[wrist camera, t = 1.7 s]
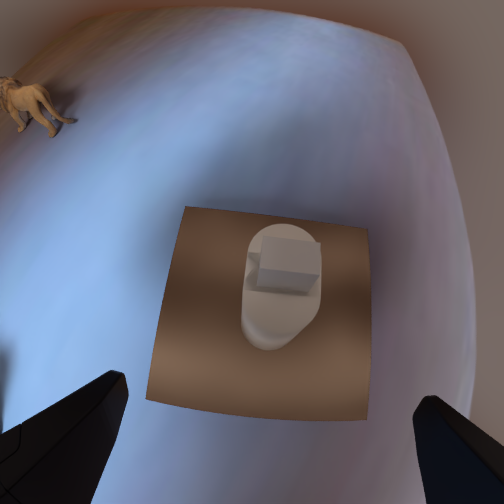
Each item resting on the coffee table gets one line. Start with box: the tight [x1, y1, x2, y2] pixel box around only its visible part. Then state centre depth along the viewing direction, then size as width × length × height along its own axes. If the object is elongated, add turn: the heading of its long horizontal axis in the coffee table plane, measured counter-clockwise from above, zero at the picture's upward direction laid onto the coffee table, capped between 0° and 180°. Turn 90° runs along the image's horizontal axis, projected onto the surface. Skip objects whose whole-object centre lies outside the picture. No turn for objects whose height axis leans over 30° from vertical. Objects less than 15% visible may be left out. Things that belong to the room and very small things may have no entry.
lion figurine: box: [0, 77, 74, 137], centre depth 25 cm, size 15×5×9 cm, turn 78°
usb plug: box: [241, 224, 322, 350], centre depth 13 cm, size 5×3×7 cm, turn 174°
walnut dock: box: [146, 206, 371, 421], centre depth 18 cm, size 12×12×4 cm
